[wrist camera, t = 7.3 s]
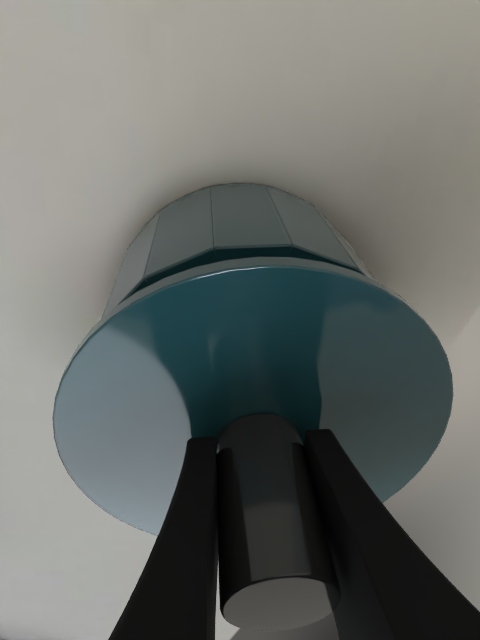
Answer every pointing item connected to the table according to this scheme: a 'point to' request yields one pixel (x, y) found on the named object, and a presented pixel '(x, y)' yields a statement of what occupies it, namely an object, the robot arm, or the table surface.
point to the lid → (254, 413)
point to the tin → (229, 235)
